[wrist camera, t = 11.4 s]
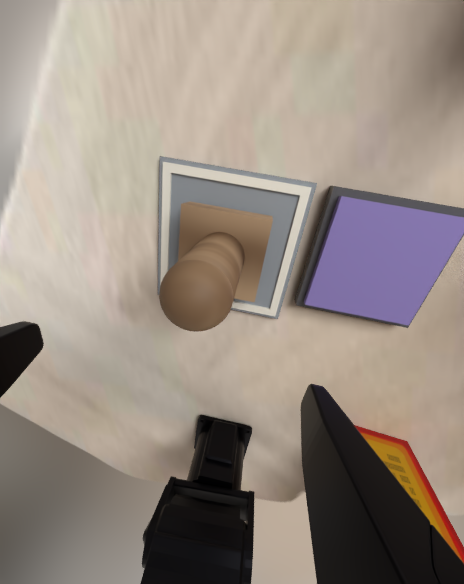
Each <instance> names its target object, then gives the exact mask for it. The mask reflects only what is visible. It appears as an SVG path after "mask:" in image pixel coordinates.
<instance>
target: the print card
mask: <svg viewBox="0 0 464 584" xmlns="http://www.w3.org/2000/svg"><path fill="white" fill-rule="evenodd" d="M316 185H317V183H312V182H306V181H300V180H295V179H289V178H283V177H277V176H272V175H266V174H260V173H254V172H248V171H243V170H237V169H231V168H225V167H220V166H214V165H208V164H202V163H196V162H191V161H185V160H179V159H173V158H168V157H162V156H160V178H159V248H158V294H159V291H160V286H161V282H162V280H163V278H164V276H165V274H166V273H167V272H168V271H169V269H170V268H171V267H172V266H173V265H175V264H176V263H177V262H178V253H179V234H180V215H181V204H182V203H186V202H190V201H191V202H197V203H202V204H208V205H214V206H219V207H225V208H230V209H236V210H241V211H247V212H252V213H258V214H264V215H269V216H272V217H273V223H272V227H271V231H270V236H269V240H268V245H267V249H266V254H265V258H264V263H263V267H262V272H261V276H260V280H259V285H258V289H257V294H256V298H255V302H250V301H245V300H240V299H235V298H234V300H233V304H232V307H231V310H236V311H241V312H246V313H251V314H256V315H261V316H265V317H270V318H275V319H278V316H279V313H280V310H281V306H282V303H283V299H284V296H285V292H286V289H287V285H288V282H289V278H290V275H291V272H292V268H293V265H294V261H295V258H296V254H297V251H298V247H299V244H300V240H301V237H302V234H303V230H304V227H305V223H306V220H307V216H308V213H309V209H310V206H311V203H312V199H313V196H314V192H315V189H316Z"/></svg>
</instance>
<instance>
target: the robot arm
mask: <svg viewBox="0 0 464 584" xmlns="http://www.w3.org/2000/svg"><path fill="white" fill-rule="evenodd" d="M43 344H44V343H43V339H42V335H41V331H40V328H39V326H38V325H37V324H35V323H31V322H19V323H15V324H11V325H7V326H3V327H0V397H1V396H2V395H3V394H4V393H5V392H6V391H7V390H8V389H9V388H10V387H11V386H12V384H13V383H14V382H15V381H16V380H17V378H18V377H19V376H20V375H21V374H22V373H23V371H24V370H25V369H26V368H27V367H28V365H29V364H30V363H31V362H32V361H33V360H34V358H35V357H36V356H37V355H38V354H39V353H40V351H41V350H42V348H43ZM251 434H252V428H251V427H250V426H247V425H243V424H238V423H234V422H230V421H225V420H221V419H217V418H212V417H208V416H204V415H200V416H199V418H198V424H197V431H196V438H195V445H194V448H195V453H194V456H193V460H192V464H191V467H190V471H189V475H188V479H187V480H182V479H176V477H170V480H169V482H168V484H167V485H166V487H165V489H164V491H163V493H162V496H161V498H160V500H159V503H158V505H157V508H156V510H155V512H154V515H153V517H152V519H151V521H150V523H149V524H148V526H147V528H146V530H145V531H144V534H143V541H144V551H143V558H142V567H143V568H145V570H144V573H143V577H142V581H141V584H251V575H252V559H253V528H254V492H253V491H249V492H247V491H241V480H242V469H243V459H244V456H245V453H246V450H247V447H248V443H249V440H250V437H251ZM301 444H302V466H303V475H304V483H305V491H306V498H307V506H308V514H309V522H310V530H311V538H312V546H313V554H314V562H315V570H316V578H317V584H464V563H463V562H462V560H461V559H460V558H459V557H458V555H457V554H456V553H455V552H454V550H453V549H452V548H451V547H450V546H449V544H448V543H447V542H446V540H445V539H444V538H443V537H442V535H441V534H440V533H439V532H438V530H437V529H436V528H435V527H434V526H433V525H430V521H429V519H428V518H427V517H426V515H425V514H424V513H423V512H422V510H421V509H420V508H419V507H418V505H417V504H416V503H415V501H414V500H413V499H412V498H411V496H410V495H409V494H408V493H407V491H406V490H405V489H404V488H403V486H402V485H401V484H400V483H399V481H398V480H397V479H396V477H395V476H394V475H393V474H392V472H391V471H390V470H389V469H388V467H387V466H386V465H385V464H384V462H383V461H382V460H381V458H380V457H379V456H378V455H377V453H376V452H375V451H374V450H373V448H372V447H371V446H370V445H369V443H368V442H367V441H366V440H365V438H364V437H363V436H362V434H361V433H360V432H359V431H358V429H357V428H356V427H355V426H354V424H353V423H352V422H351V421H350V419H349V418H348V417H347V416H346V414H345V413H344V412H343V410H342V409H341V408H340V407H339V405H338V404H337V403H336V402H335V400H334V399H333V398H332V397H331V395H330V394H329V393H328V392H327V390H326V389H325V388H324V387H323V386H319V385H315V384H310V385H309V386H308V388H307V390H306V393H305V395H304V397H303V400H302V403H301Z"/></svg>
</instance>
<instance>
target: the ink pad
mask: <svg viewBox="0 0 464 584" xmlns="http://www.w3.org/2000/svg"><path fill="white" fill-rule="evenodd" d="M463 235H464V209H463V208H457V207H452V206H446V205H440V204H434V203H429V202H423V201H417V200H411V199H405V198H400V197H394V196H388V195H382V194H377V193H371V192H365V191H359V190H353V189H348V188H342V187H336V186H330V189H329V192H328V195H327V199H326V202H325V205H324V208H323V211H322V214H321V218H320V221H319V224H318V227H317V230H316V233H315V237H314V240H313V243H312V246H311V249H310V253H309V256H308V259H307V262H306V265H305V268H304V272H303V275H302V278H301V281H300V284H299V288H298V291H297V294H296V297H295V303H296V305H298V306H303V307H308V308H313V309H318V310H322V311H327V312H332V313H337V314H342V315H347V316H352V317H357V318H362V319H367V320H372V321H377V322H382V323H387V324H392V325H397V326H402V327H407V328H408V327H409V325H410V323H411V322H412V320H413V318H414V317H415V315H416V313H417V312H418V310H419V308H420V307H421V305H422V303H423V302H424V300H425V298H426V297H427V295H428V293H429V292H430V290H431V288H432V287H433V285H434V283H435V282H436V280H437V278H438V277H439V275H440V273H441V272H442V270H443V268H444V267H445V265H446V263H447V262H448V260H449V258H450V257H451V255H452V253H453V252H454V250H455V248H456V247H457V245H458V243H459V242H460V240H461V238H462V237H463Z"/></svg>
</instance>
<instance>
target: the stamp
mask: <svg viewBox="0 0 464 584" xmlns="http://www.w3.org/2000/svg"><path fill="white" fill-rule="evenodd" d="M272 223H273V217H272V216H269V215H264V214H258V213H252V212H247V211H241V210H236V209H230V208H225V207H219V206H214V205H208V204H202V203H197V202H191V201H190V202H186V203H182V204H181V215H180V234H179V253H178V262H177V263H176V264H175V265H173V266H172V267H171V268H170V269H169V271H168V272H167V273H166V274H165V276H164V278H163V280H162V282H161V286H160V291H159V298H160V304H161V307H162V309H163V311H164V313H165V315H166V316H167V318H168V319H169V320H170V321H171V322H172V323H174V324H175V325H176V326H178V327H180V328H182V329H185V330H188V331H204V330H208V329H211V328H213V327H215V326H217V325H218V324H219V323H221V322H222V321H223V320H224V319H225V318H226V316H227V315H228V313H229V312H230V309H231V307H232V304H233V300H234V298H235V299H240V300H245V301H250V302H255V298H256V294H257V289H258V285H259V280H260V276H261V272H262V267H263V263H264V258H265V254H266V249H267V245H268V240H269V236H270V231H271V227H272Z"/></svg>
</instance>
